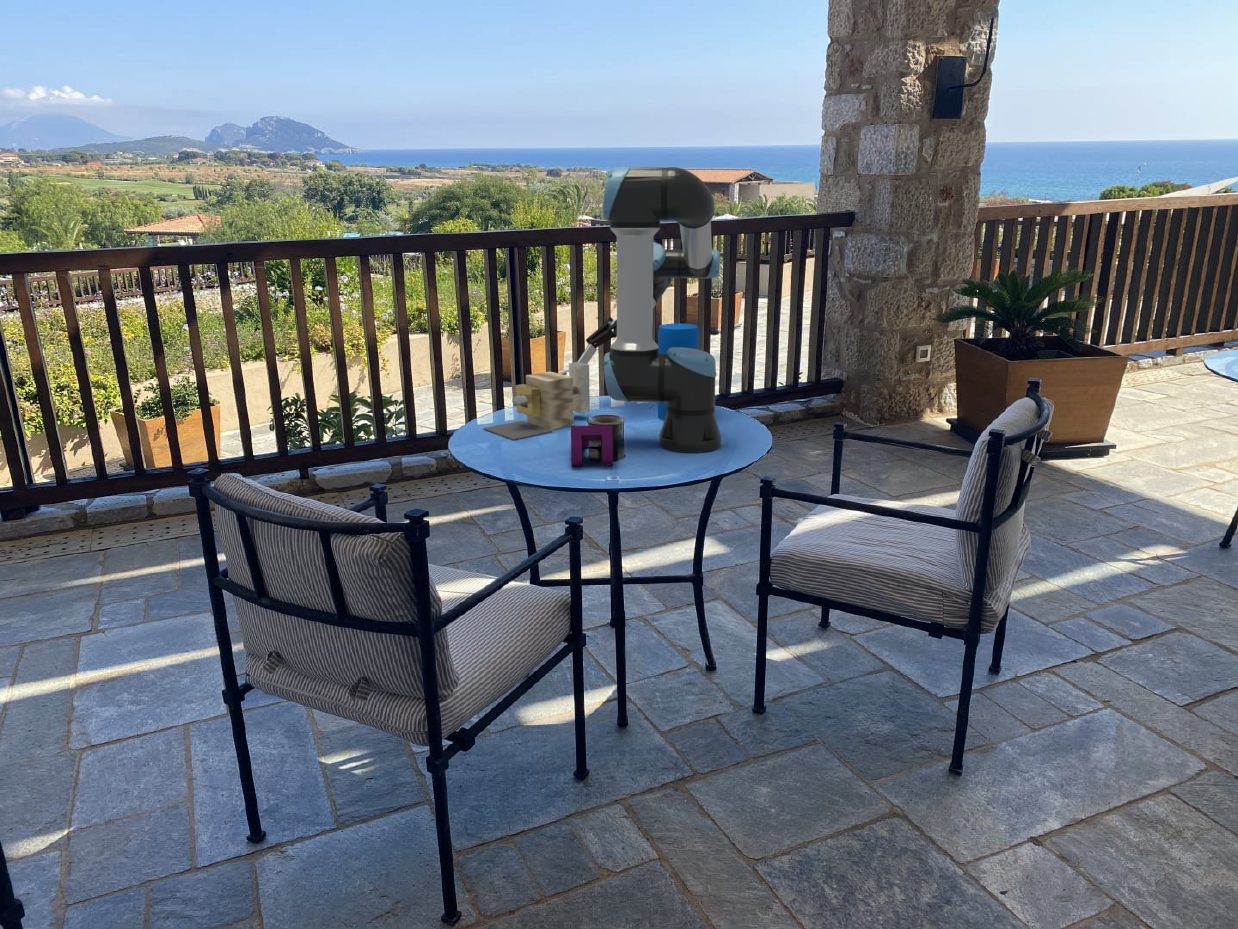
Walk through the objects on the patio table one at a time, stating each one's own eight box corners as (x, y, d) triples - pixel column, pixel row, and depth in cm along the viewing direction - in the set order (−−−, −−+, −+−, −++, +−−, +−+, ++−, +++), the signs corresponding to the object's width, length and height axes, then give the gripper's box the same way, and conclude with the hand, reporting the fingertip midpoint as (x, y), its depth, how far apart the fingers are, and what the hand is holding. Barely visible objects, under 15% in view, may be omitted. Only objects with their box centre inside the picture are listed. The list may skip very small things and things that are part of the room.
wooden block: (551, 418, 241) (550, 371, 237) (573, 425, 234) (572, 377, 230) (527, 422, 236) (525, 375, 232) (549, 430, 229) (547, 381, 225)
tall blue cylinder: (659, 411, 247) (660, 322, 240) (697, 413, 246) (699, 323, 238) (655, 421, 237) (656, 329, 229) (695, 422, 236) (697, 329, 228)
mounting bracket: (572, 473, 214) (571, 463, 196) (571, 439, 215) (570, 425, 197) (610, 473, 214) (613, 462, 196) (609, 438, 215) (612, 425, 197)
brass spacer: (524, 410, 233) (523, 383, 231) (540, 415, 228) (539, 388, 225) (516, 411, 231) (515, 385, 229) (532, 417, 226) (531, 389, 224)
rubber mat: (521, 421, 237) (521, 420, 237) (552, 432, 227) (552, 430, 227) (483, 429, 230) (483, 428, 230) (513, 440, 220) (513, 439, 220)
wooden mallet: (578, 408, 243) (577, 361, 239) (589, 411, 240) (589, 364, 236) (510, 421, 229) (508, 372, 226) (521, 425, 226) (519, 376, 222)
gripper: (673, 322, 240) (632, 384, 235) (615, 312, 258) (576, 370, 253) (659, 304, 235) (617, 367, 230) (601, 296, 253) (560, 354, 249)
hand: (595, 369), depth 242 cm, fingers open, 13 cm apart
